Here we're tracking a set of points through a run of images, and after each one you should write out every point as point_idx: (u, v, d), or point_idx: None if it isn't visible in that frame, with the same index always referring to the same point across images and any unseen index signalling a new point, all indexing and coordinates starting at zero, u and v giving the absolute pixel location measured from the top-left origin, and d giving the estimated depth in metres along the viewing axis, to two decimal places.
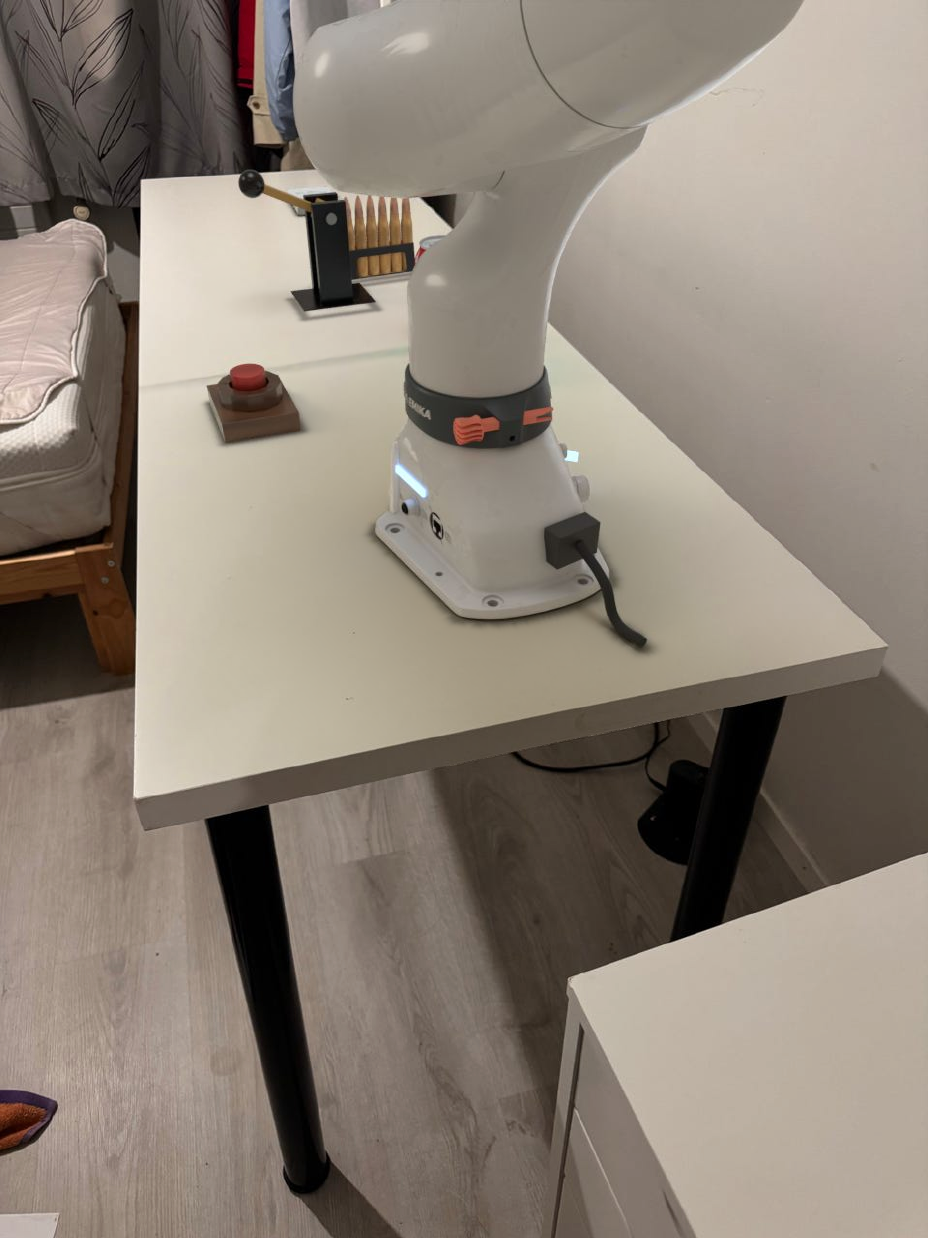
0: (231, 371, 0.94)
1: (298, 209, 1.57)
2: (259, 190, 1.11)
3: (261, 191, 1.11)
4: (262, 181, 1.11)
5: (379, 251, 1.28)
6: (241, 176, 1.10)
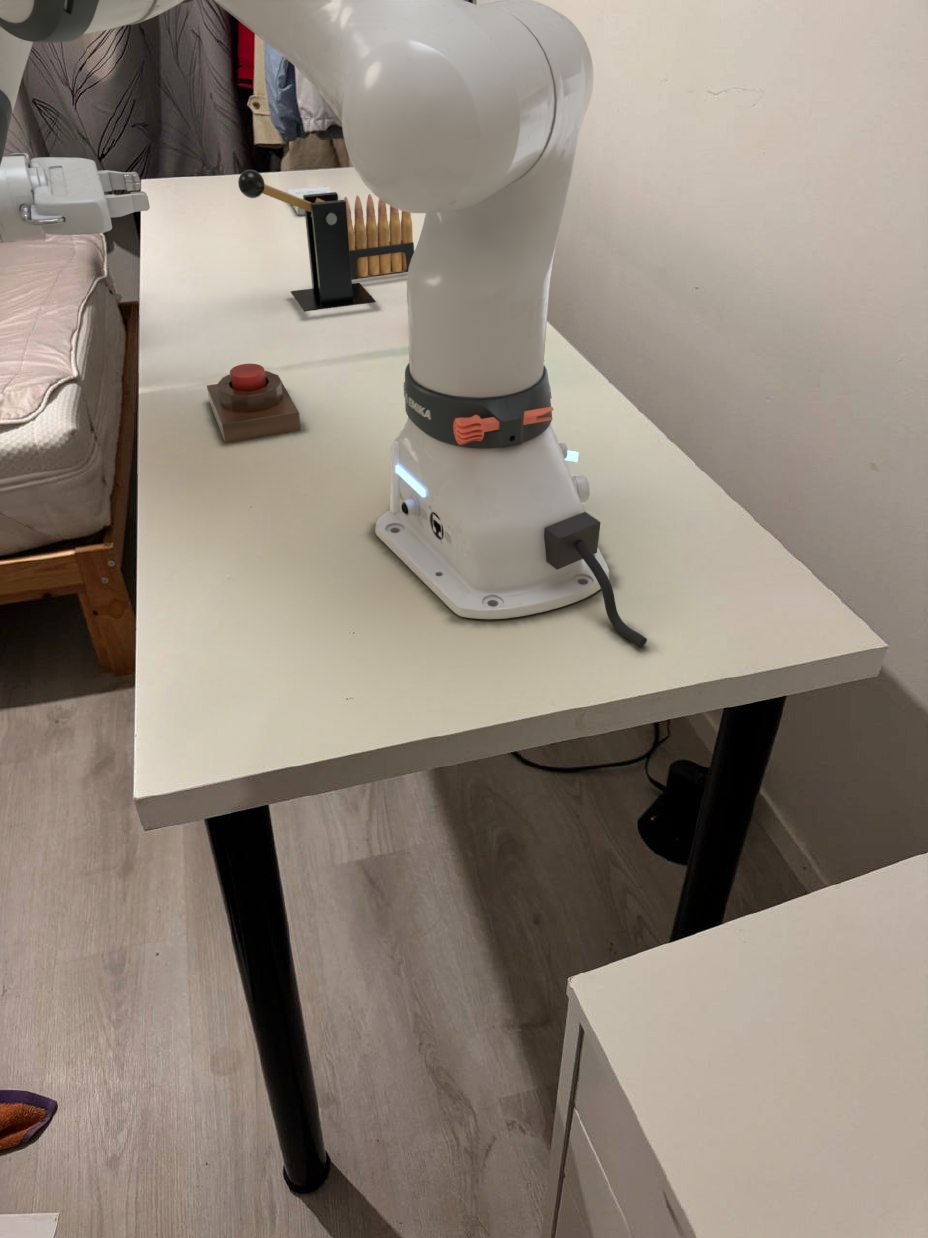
0: (231, 371, 0.94)
1: (298, 209, 1.57)
2: (259, 190, 1.11)
3: (261, 191, 1.11)
4: (262, 181, 1.11)
5: (379, 251, 1.28)
6: (241, 176, 1.10)
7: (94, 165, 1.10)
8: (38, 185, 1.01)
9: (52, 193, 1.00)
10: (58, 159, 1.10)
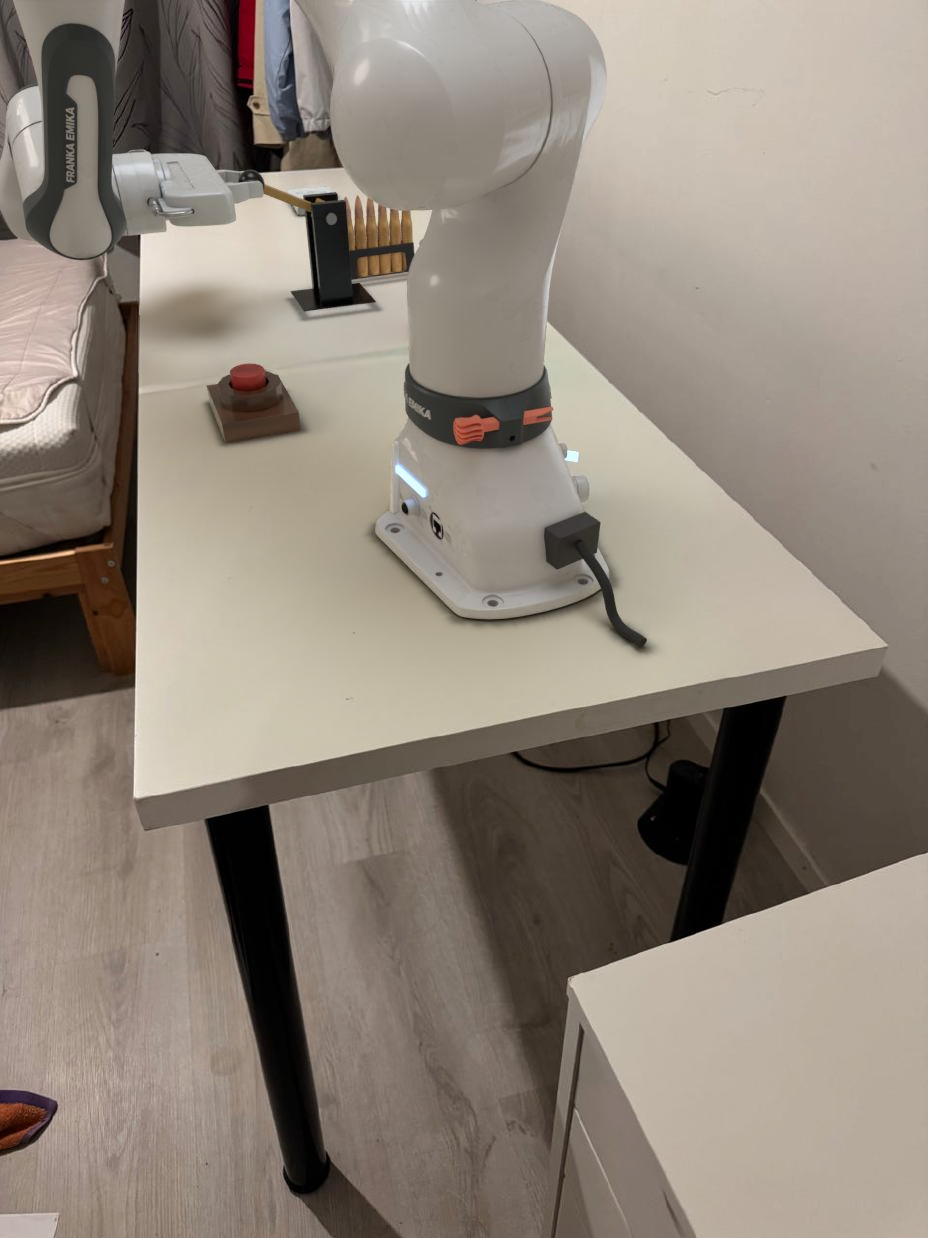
0: (231, 371, 0.94)
1: (298, 209, 1.57)
2: None
3: None
4: (262, 181, 1.11)
5: (379, 251, 1.28)
6: (241, 176, 1.10)
7: (208, 160, 1.14)
8: (163, 179, 1.05)
9: (178, 187, 1.04)
10: (173, 155, 1.14)
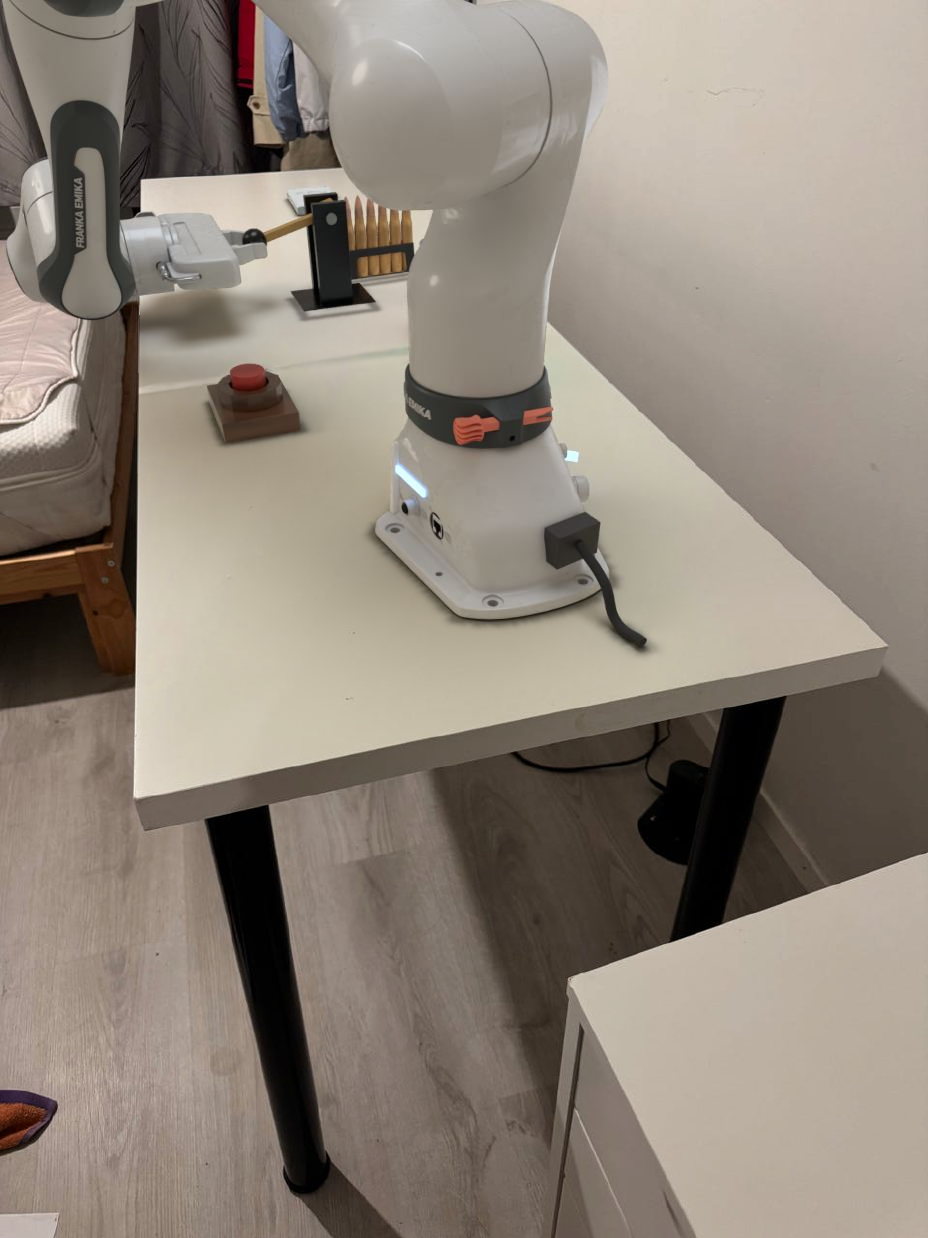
0: (231, 371, 0.94)
1: (298, 209, 1.57)
2: None
3: (265, 242, 1.15)
4: (260, 234, 1.14)
5: (379, 251, 1.28)
6: (243, 243, 1.15)
7: (213, 220, 1.18)
8: (172, 244, 1.10)
9: (186, 251, 1.09)
10: (180, 215, 1.18)
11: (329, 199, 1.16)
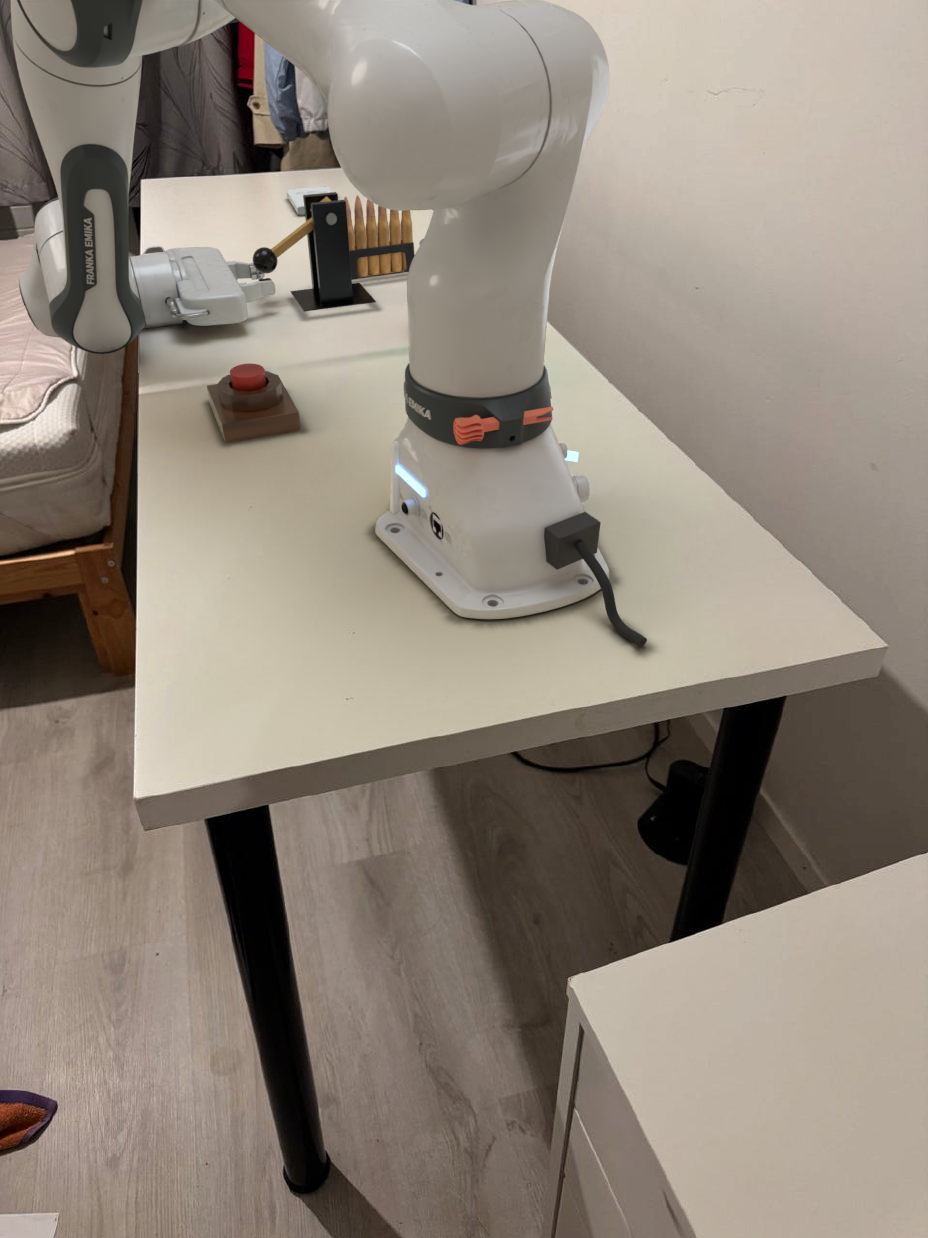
0: (231, 371, 0.94)
1: (298, 209, 1.57)
2: (273, 260, 1.17)
3: (275, 259, 1.17)
4: (268, 252, 1.16)
5: (379, 251, 1.28)
6: (254, 265, 1.17)
7: (221, 254, 1.21)
8: (180, 279, 1.13)
9: (194, 287, 1.12)
10: (188, 249, 1.21)
11: (326, 198, 1.16)
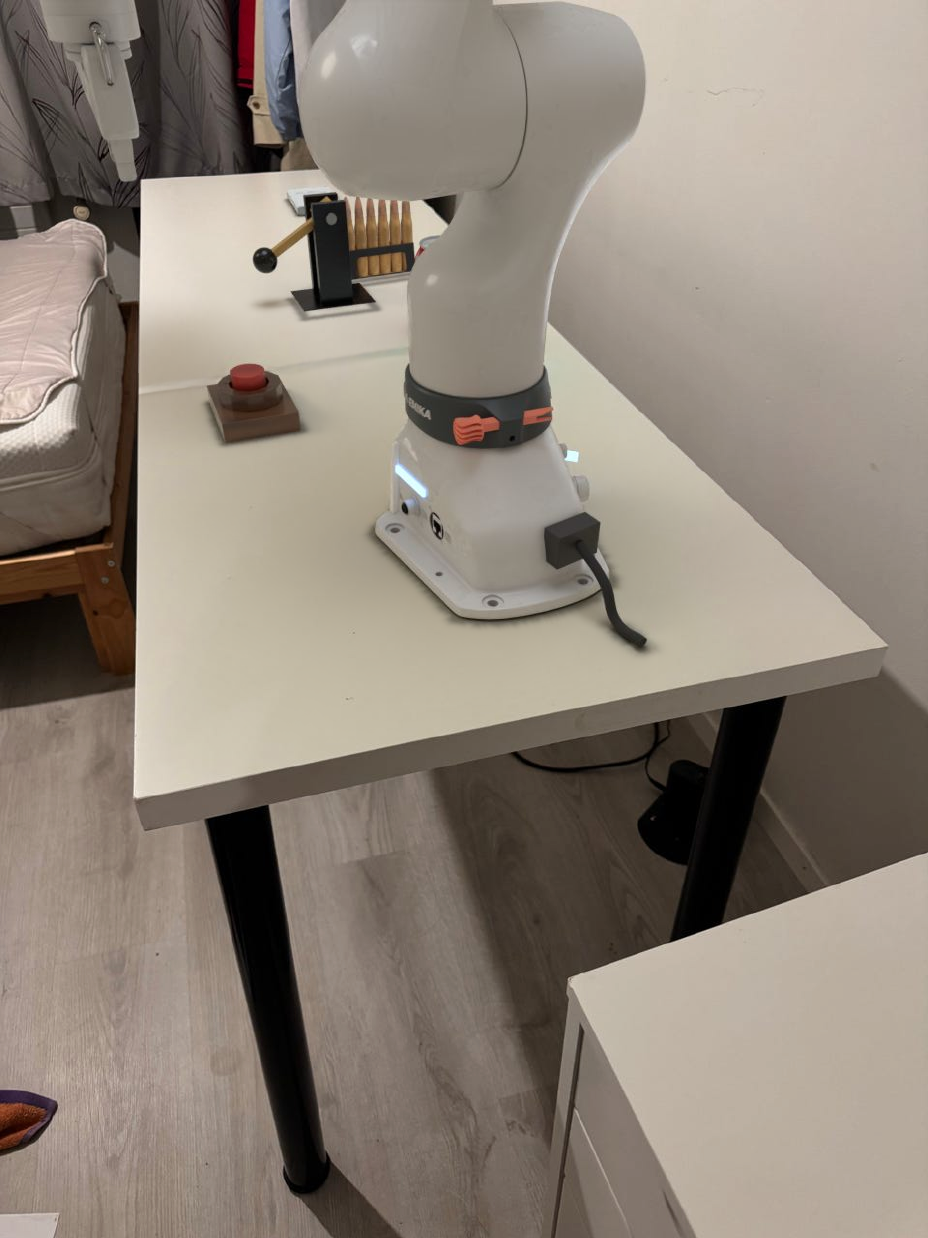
0: (231, 371, 0.94)
1: (298, 209, 1.57)
2: (273, 260, 1.17)
3: (275, 259, 1.17)
4: (268, 252, 1.16)
5: (379, 251, 1.28)
6: (254, 265, 1.17)
7: None
8: (119, 48, 0.89)
9: None
10: None
11: (326, 198, 1.16)
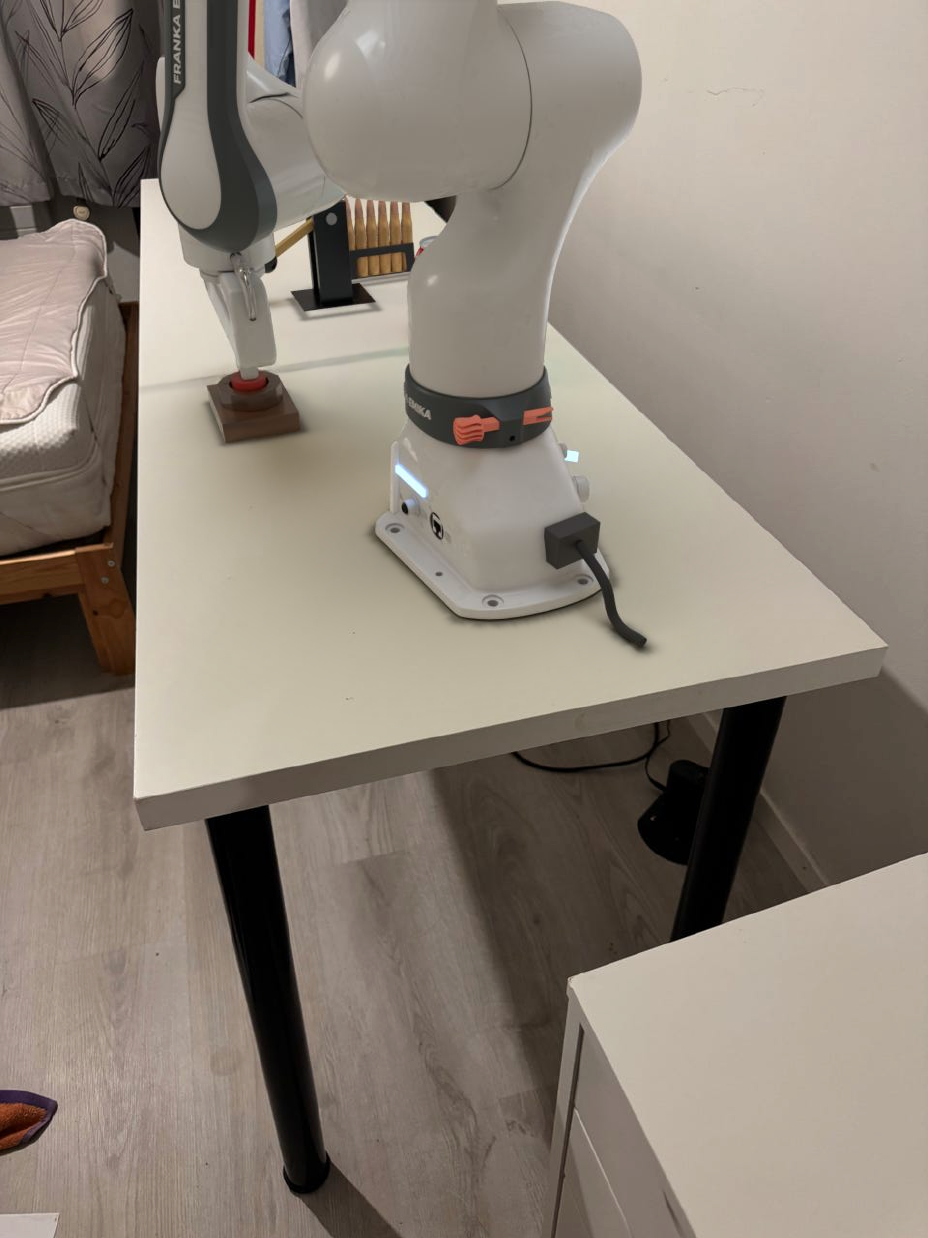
0: (232, 377, 0.95)
1: None
2: (273, 260, 1.17)
3: (275, 259, 1.17)
4: None
5: (379, 251, 1.28)
6: None
7: None
8: (255, 270, 0.87)
9: None
10: None
11: None
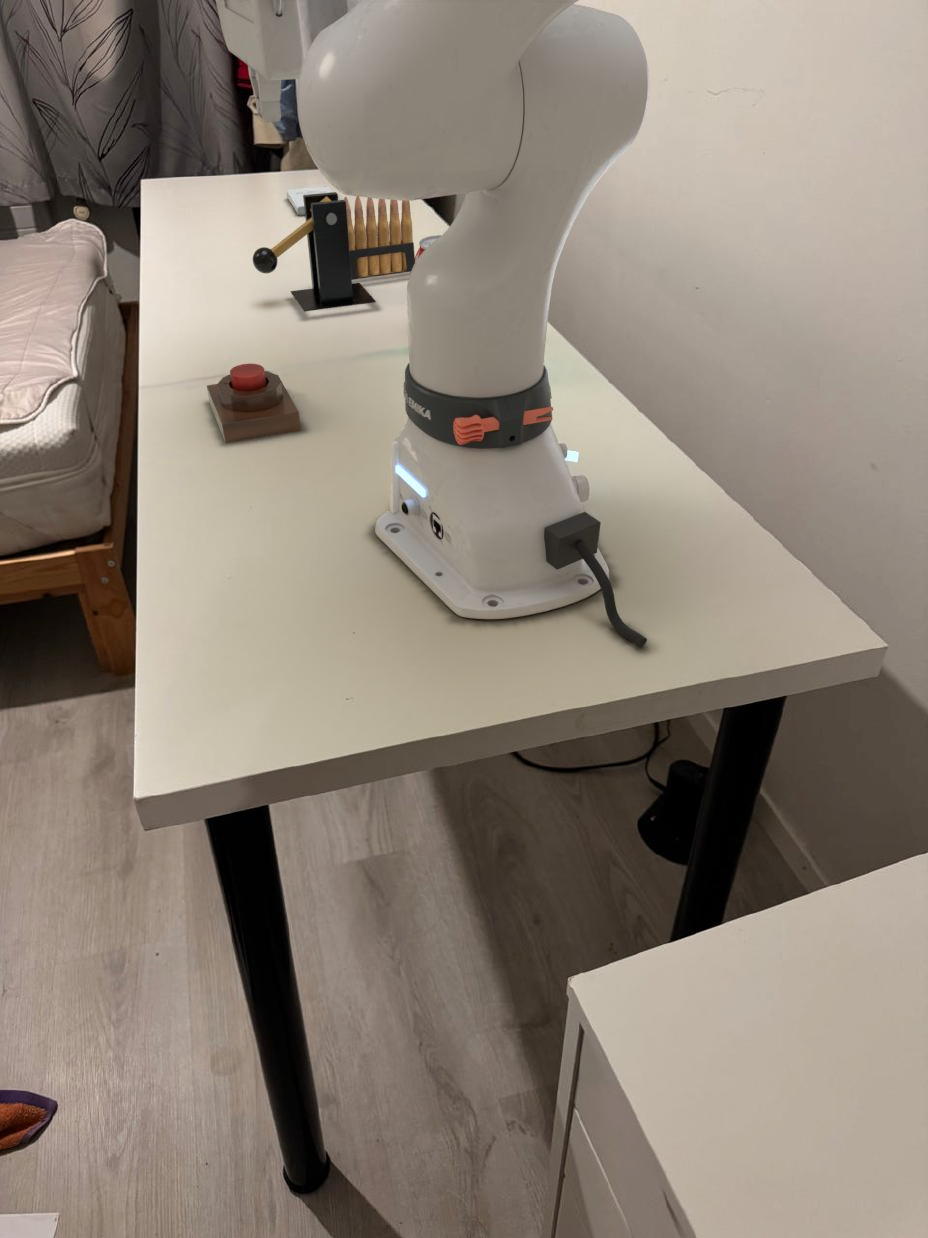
0: (231, 371, 0.94)
1: (298, 209, 1.57)
2: (273, 260, 1.17)
3: (275, 259, 1.17)
4: (268, 252, 1.16)
5: (379, 251, 1.28)
6: (254, 265, 1.17)
7: None
8: None
9: None
10: None
11: (326, 198, 1.16)
